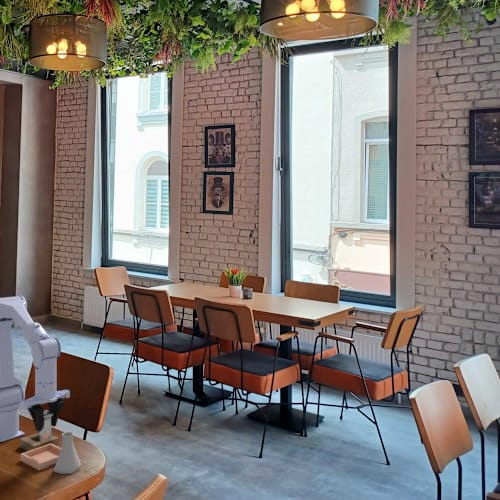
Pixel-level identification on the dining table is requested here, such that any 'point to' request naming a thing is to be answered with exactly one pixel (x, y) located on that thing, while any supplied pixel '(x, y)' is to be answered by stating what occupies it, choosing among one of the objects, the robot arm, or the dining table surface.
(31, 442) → the brown square frame
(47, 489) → the dining table surface
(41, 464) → the tray
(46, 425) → the pin
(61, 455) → the flask
